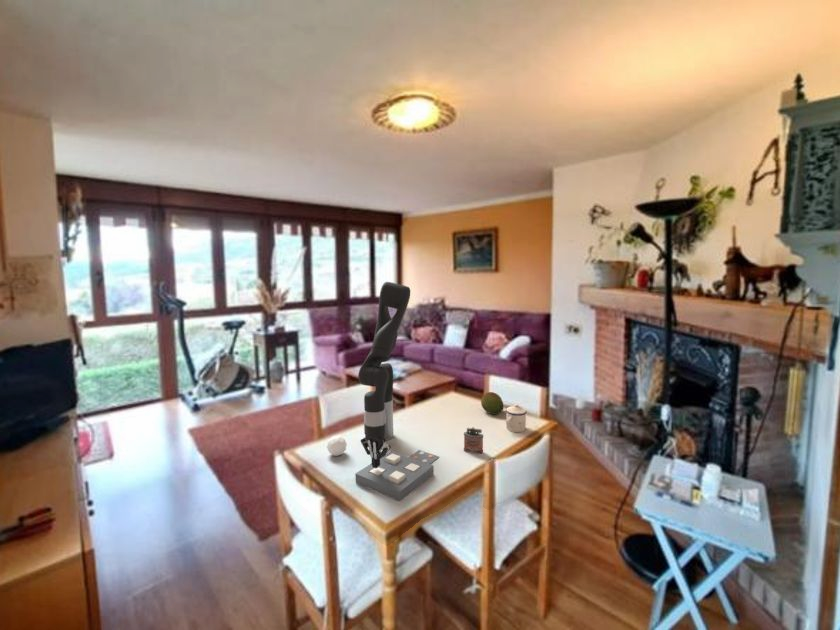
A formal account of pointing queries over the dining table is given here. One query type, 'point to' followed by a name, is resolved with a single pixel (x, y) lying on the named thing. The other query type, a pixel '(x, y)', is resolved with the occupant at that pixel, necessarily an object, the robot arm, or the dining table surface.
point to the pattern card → (424, 457)
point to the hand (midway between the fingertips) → (376, 466)
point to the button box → (382, 481)
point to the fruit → (492, 403)
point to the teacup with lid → (516, 418)
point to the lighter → (473, 441)
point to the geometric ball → (336, 445)
